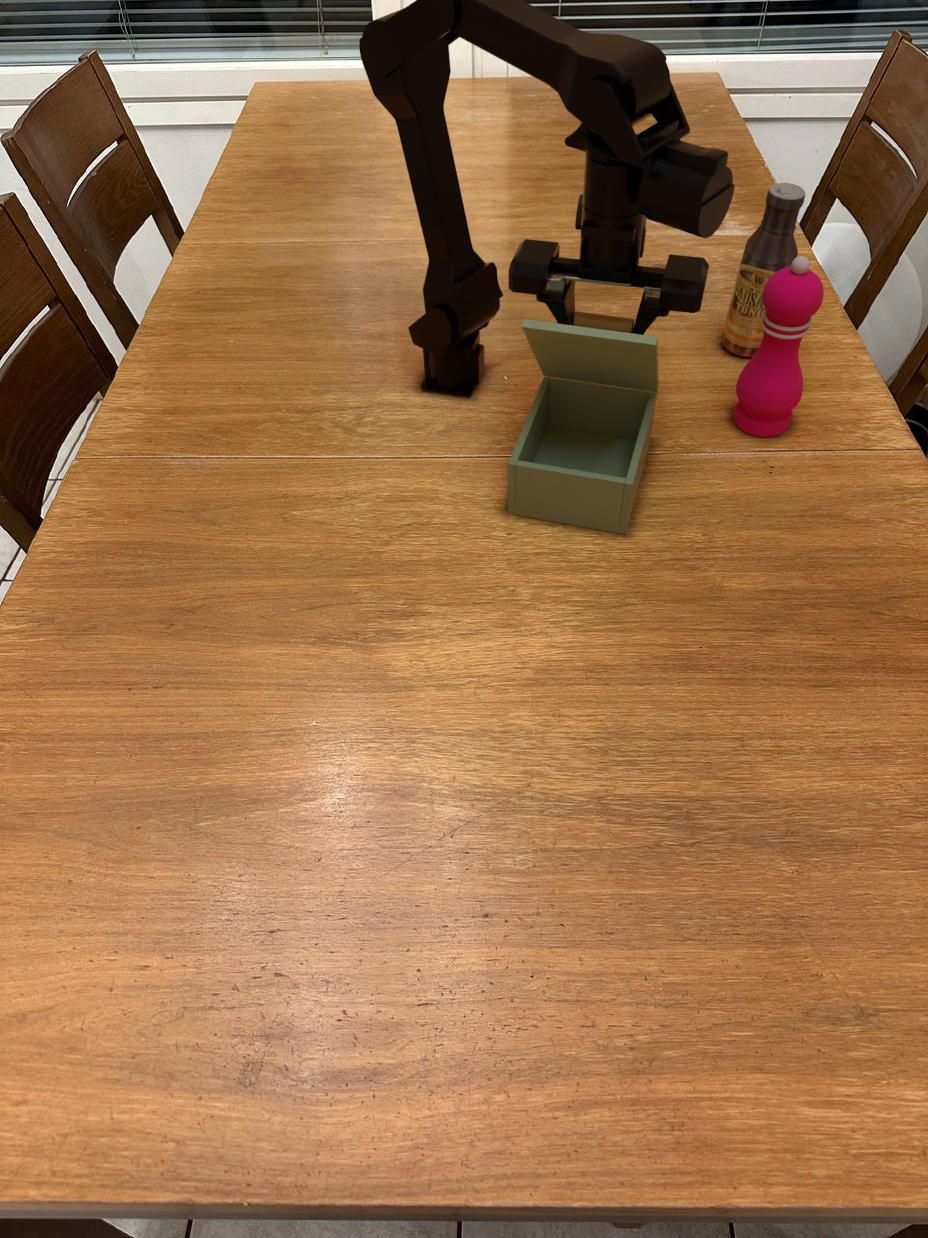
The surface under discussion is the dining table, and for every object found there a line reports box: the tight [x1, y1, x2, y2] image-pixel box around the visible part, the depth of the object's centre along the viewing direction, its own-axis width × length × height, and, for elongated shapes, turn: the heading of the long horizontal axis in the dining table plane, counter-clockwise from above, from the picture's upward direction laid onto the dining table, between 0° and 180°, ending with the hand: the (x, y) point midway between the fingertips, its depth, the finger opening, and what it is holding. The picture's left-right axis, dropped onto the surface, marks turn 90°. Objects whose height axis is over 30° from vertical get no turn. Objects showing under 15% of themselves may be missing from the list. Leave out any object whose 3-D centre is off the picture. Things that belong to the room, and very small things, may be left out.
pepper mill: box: [733, 255, 825, 438], centre depth 102 cm, size 7×7×20 cm
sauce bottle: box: [721, 182, 806, 358], centre depth 112 cm, size 6×6×20 cm
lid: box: [521, 310, 660, 393], centre depth 95 cm, size 16×13×5 cm
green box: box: [507, 376, 658, 535], centre depth 101 cm, size 16×13×7 cm
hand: (601, 349), depth 98 cm, fingers closed on lid, 6 cm apart
